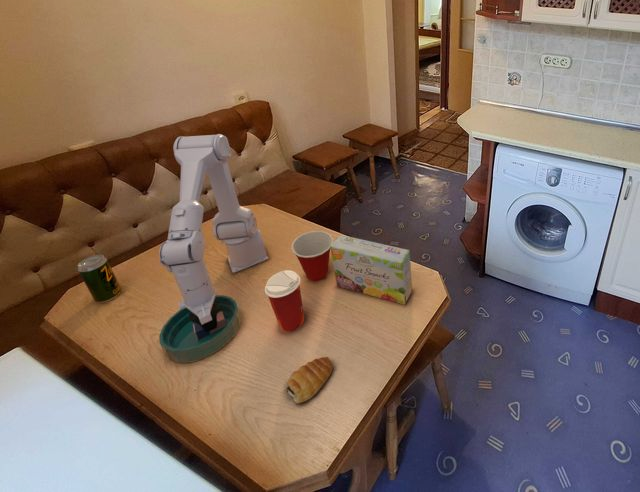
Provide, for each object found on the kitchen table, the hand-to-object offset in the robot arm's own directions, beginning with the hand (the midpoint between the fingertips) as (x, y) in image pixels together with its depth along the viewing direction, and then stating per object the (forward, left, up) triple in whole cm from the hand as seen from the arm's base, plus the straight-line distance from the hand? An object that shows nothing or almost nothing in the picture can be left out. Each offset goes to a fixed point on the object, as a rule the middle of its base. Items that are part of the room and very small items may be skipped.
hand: (210, 324), depth 86 cm
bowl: (+1, 0, -2) cm, 3 cm away
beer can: (+19, -30, -2) cm, 36 cm away
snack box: (-36, +14, -2) cm, 39 cm away
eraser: (0, 0, -2) cm, 2 cm away
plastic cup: (-27, -2, -2) cm, 27 cm away
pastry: (-14, +28, -2) cm, 31 cm away
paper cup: (-16, +10, -2) cm, 19 cm away
